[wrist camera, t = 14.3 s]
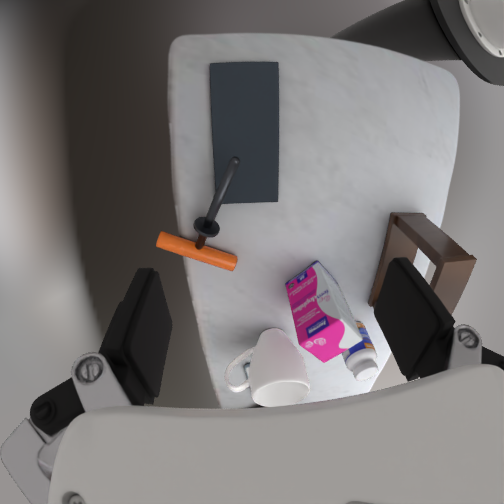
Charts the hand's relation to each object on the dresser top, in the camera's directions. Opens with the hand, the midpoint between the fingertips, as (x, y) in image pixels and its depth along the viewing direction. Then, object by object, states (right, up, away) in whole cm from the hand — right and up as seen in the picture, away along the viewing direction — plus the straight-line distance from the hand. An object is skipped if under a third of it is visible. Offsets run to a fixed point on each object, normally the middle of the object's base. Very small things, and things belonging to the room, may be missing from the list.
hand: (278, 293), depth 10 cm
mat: (-2, +14, +17) cm, 22 cm away
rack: (+21, 0, +27) cm, 34 cm away
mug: (0, -12, +33) cm, 35 cm away
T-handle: (-2, +11, +14) cm, 18 cm away
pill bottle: (+16, -12, +34) cm, 40 cm away
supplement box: (+7, -3, +28) cm, 29 cm away
